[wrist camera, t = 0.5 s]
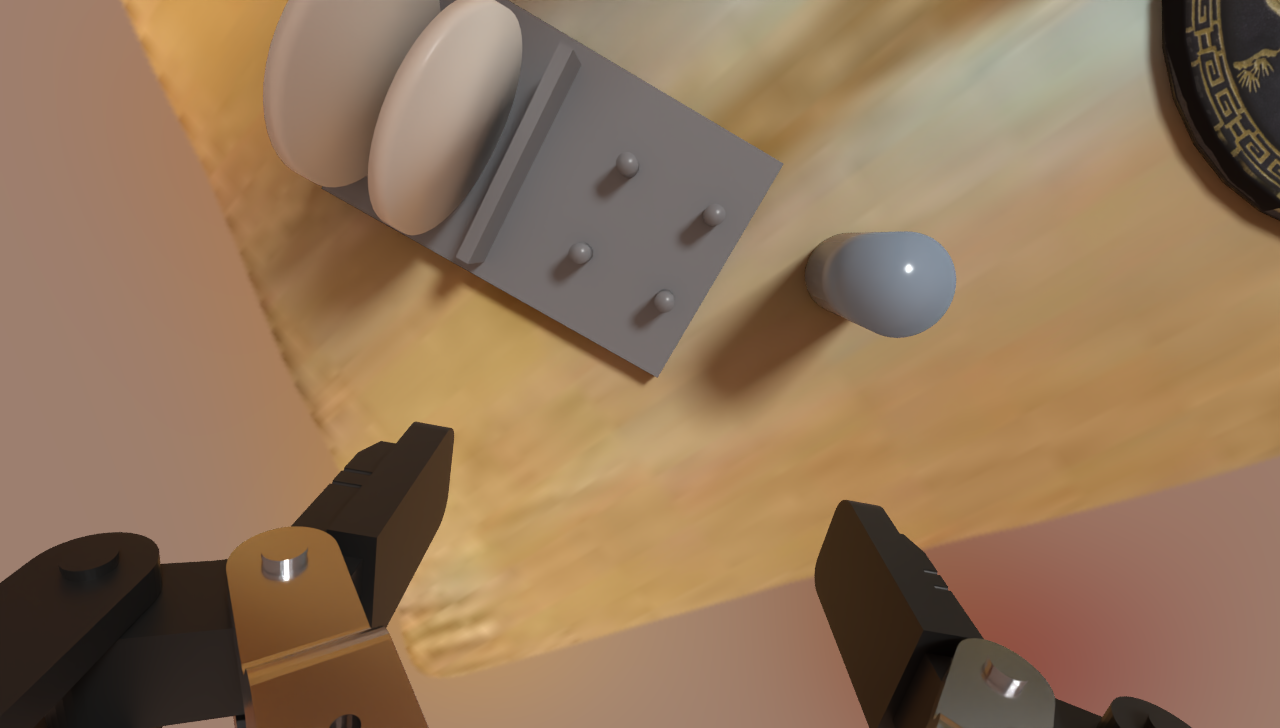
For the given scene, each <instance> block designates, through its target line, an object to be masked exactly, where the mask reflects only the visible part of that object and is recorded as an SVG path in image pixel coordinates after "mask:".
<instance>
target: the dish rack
mask: <svg viewBox="0 0 1280 728" xmlns="http://www.w3.org/2000/svg"><path fill="white" fill-rule="evenodd" d="M263 105H264V117H265V122H266V127H267V132H268V135H269V138H270V141H271V143H272V146H273V148H274V149H275V151H276V153H277V155H278V156H279V158H280V159H281V160H282V161H283V163H284V164H285V165H286V166H288V167H289V168H290V169H291V170H292V171H294V172H296V173H298V174H299V175H301V176H303V177H305V178H307V179H308V180H310V181H312V182H314V183H316V184H318V185H321V186H322V189H323V190H325V191H327V192H329V193H331V194H332V195H334V196H336V197H338V198H339V199H341V200H343V201H345V202H347V203H348V204H350V205H352V206H354V207H355V208H357V209H359V210H361V211H363V212H364V213H366V214H368V215H370V216H371V217H373V218H375V219H377V220H378V221H380V222H382V223H384V224H386V225H387V226H389V227H391V228H393V229H394V230H396V231H398V232H400V233H402V234H403V235H405V236H407V237H409V238H410V239H412V240H414V241H416V242H418V243H419V244H421V245H423V246H425V247H426V248H428V249H430V250H432V251H434V252H435V253H437V254H439V255H441V256H442V257H444V258H446V259H448V260H449V261H451V262H453V263H455V264H457V265H458V266H460V267H462V268H464V269H465V270H467V271H469V272H471V273H473V274H474V275H476V276H478V277H480V278H481V279H483V280H485V281H487V282H489V283H490V284H492V285H494V286H496V287H497V288H499V289H501V290H503V291H505V292H506V293H508V294H510V295H512V296H513V297H515V298H517V299H519V300H520V301H522V302H524V303H526V304H528V305H529V306H531V307H533V308H535V309H536V310H538V311H540V312H542V313H544V314H545V315H547V316H549V317H551V318H552V319H554V320H556V321H558V322H560V323H561V324H563V325H565V326H567V327H568V328H570V329H572V330H574V331H576V332H577V333H579V334H581V335H583V336H584V337H586V338H588V339H590V340H591V341H593V342H595V343H597V344H599V345H600V346H602V347H604V348H606V349H607V350H609V351H611V352H613V353H615V354H616V355H618V356H620V357H622V358H623V359H625V360H627V361H629V362H631V363H632V364H634V365H636V366H638V367H639V368H641V369H643V370H645V371H647V372H648V373H650V374H652V375H654V376H655V377H657V378H658V376H659V374H660V373H661V371H662V369H663V367H664V366H665V364H666V362H667V361H668V359H669V357H670V356H671V354H672V352H673V350H674V349H675V347H676V345H677V344H678V342H679V340H680V339H681V337H682V335H683V334H684V332H685V330H686V328H687V327H688V325H689V323H690V322H691V320H692V318H693V317H694V315H695V313H696V311H697V310H698V308H699V306H700V305H701V303H702V301H703V300H704V298H705V296H706V295H707V293H708V291H709V289H710V288H711V286H712V284H713V283H714V281H715V279H716V278H717V276H718V274H719V272H720V271H721V269H722V267H723V266H724V264H725V262H726V261H727V259H728V257H729V256H730V254H731V252H732V250H733V249H734V247H735V245H736V244H737V242H738V240H739V239H740V237H741V235H742V233H743V232H744V230H745V228H746V227H747V225H748V223H749V222H750V220H751V218H752V217H753V215H754V213H755V211H756V210H757V208H758V206H759V205H760V203H761V201H762V200H763V198H764V196H765V194H766V193H767V191H768V189H769V188H770V186H771V184H772V183H773V181H774V179H775V178H776V176H777V174H778V172H779V171H780V169H781V167H782V166H783V163H781V162H780V161H778V160H776V159H775V158H773V157H771V156H770V155H768V154H766V153H764V152H763V151H761V150H759V149H758V148H756V147H754V146H753V145H751V144H749V143H748V142H746V141H744V140H743V139H741V138H739V137H738V136H736V135H734V134H732V133H731V132H729V131H727V130H726V129H724V128H722V127H721V126H719V125H717V124H716V123H714V122H712V121H711V120H709V119H707V118H706V117H704V116H702V115H701V114H699V113H697V112H695V111H694V110H692V109H690V108H689V107H687V106H685V105H684V104H682V103H680V102H679V101H677V100H675V99H674V98H672V97H670V96H669V95H667V94H665V93H663V92H662V91H660V90H658V89H657V88H655V87H653V86H652V85H650V84H648V83H647V82H645V81H643V80H642V79H640V78H638V77H637V76H635V75H633V74H631V73H630V72H628V71H626V70H625V69H623V68H621V67H620V66H618V65H616V64H615V63H613V62H611V61H610V60H608V59H606V58H605V57H603V56H601V55H600V54H598V53H596V52H594V51H593V50H591V49H589V48H588V47H586V46H584V45H583V44H581V43H579V42H578V41H576V40H574V39H573V38H571V37H569V36H568V35H566V34H564V33H562V32H561V31H559V30H557V29H556V28H554V27H552V26H551V25H549V24H547V23H546V22H544V21H542V20H541V19H539V18H537V17H536V16H534V15H532V14H531V13H529V12H527V11H525V10H524V9H522V8H520V7H519V6H517V5H515V4H514V3H512V2H510V1H509V0H289V1H288V2H287V4H286V6H285V8H284V10H283V13H282V15H281V17H280V20H279V22H278V24H277V27H276V30H275V33H274V36H273V39H272V42H271V45H270V49H269V54H268V58H267V62H266V69H265V76H264V88H263Z"/></svg>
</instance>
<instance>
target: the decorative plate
mask: <svg viewBox="0 0 1280 728" xmlns="http://www.w3.org/2000/svg"><path fill="white" fill-rule="evenodd" d="M1162 48H1163V53H1164V57H1165V62H1166V67H1167V72H1168V76H1169V81H1170V86H1171V90H1172V95H1173V99H1174V102H1175V104H1176V106H1177V108H1178V110H1179V113H1180V115H1181V117H1182V119H1183V121H1184V124H1185V126H1186V128H1187V130H1188V132H1189V135H1190V137H1191V139H1192V141H1193V143H1194V145H1195V146H1196V148H1197V149H1198V150H1199V152H1200V153H1201V154H1202V155H1203V157H1204V158H1205V159H1206V161H1207V162H1208V163H1209V164H1210V166H1211V167H1212V168H1213V170H1214V171H1215V172H1216V174H1217V175H1218V176H1219V177H1220V179H1221V180H1222V181H1223V182H1224V183H1225V184H1226V185H1227V186H1229V187H1230V188H1231V189H1232V190H1234V191H1235V192H1236V193H1237V194H1239V195H1240V196H1241V197H1242V198H1244V199H1245V200H1246V201H1247V202H1249V203H1250V204H1251V205H1252V206H1254V207H1255V208H1256V209H1257V210H1259V211H1260V212H1262V213H1265V214H1267V215H1269V216H1271V217H1273V218H1275V219H1277V220H1280V0H1162Z"/></svg>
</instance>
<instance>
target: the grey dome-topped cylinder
mask: <svg viewBox="0 0 1280 728" xmlns="http://www.w3.org/2000/svg"><path fill="white" fill-rule="evenodd" d="M805 282H806V286H807V290H808V292H809V294H810V296H811V297H812V299H813V300H814V301H815V302H816V303H817V304H818V305H819V306H821V307H822V308H824V309H826V310H828V311H830V312H832V313H834V314H837V315H839V316H841V317H843V318H845V319H847V320H849V321H851V322H854V323H856V324H858V325H860V326H862V327H864V328H866V329H868V330H871V331H873V332H875V333H877V334H880V335H883V336H887V337H894V338H900V337H908V336H913V335H916V334H919V333H921V332H923V331H925V330H927V329H928V328H930V327H931V326H933V325H934V324H935V323H937V322H938V321H939V320H940V319H941V318H942V316H943V315H944V314H945V312H946V311H947V309H948V308H949V306H950V304H951V302H952V299H953V296H954V293H955V288H956V273H955V268H954V264H953V262H952V259H951V257H950V256H949V254H948V252H947V251H946V250H945V249H944V247H943V246H942V245H941V244H939V243H938V242H937V241H935V240H934V239H933V238H931V237H929V236H927V235H924V234H921V233H916V232H870V233H842V234H837V235H834V236H832V237H830V238H828V239H826V240H824V241H823V242H822V243H820V244H819V245H818V246H817V247H816V248H815V249H814V251H813V252H812V254H811V255H810V257H809V259H808V262H807V265H806V270H805Z"/></svg>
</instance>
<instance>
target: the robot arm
mask: <svg viewBox="0 0 1280 728" xmlns="http://www.w3.org/2000/svg"><path fill="white" fill-rule="evenodd" d="M453 443H454V431H453V429H452V428H448V427H442V426H437V425H431V424H425V423H420V422H414V423H413V424H412V425H411V426H410V427H409V428H408V430H407V431H406V432H405V433H404V435H403V436H402V437H401V438H400V439H399V441H398V442H397V443H396V444H395V443H389V442H383V441H380V442H378V443H376V444H374V445H372V446H370V447H368V448H366V449H364V450H362V451H360V452H358V453H357V454H356V455H355V457H354V458H353V459H352V460H351V461H350V462H349V463H348V464H347V465H346V466H345V468H344V471H341V472H340V473H339V474H338V475H337V476H336V477H335V479H334V480H333V482H332V484H329V485H328V486H327V487H326V488H325V489H324V491H323V492H322V493H321V494H320V495H319V496H318V497H317V498H316V499H315V500H314V502H313V503H312V504H311V505H310V506H309V507H308V508H307V509H306V510H305V512H304V513H303V514H302V515H301V516H300V517H299V518H298V519H297V520H296V521H295V523H294V524H293V525H292V526H291V527H283V528H277V529H273V530H269V531H266V532H263V533H260V534H258V535H255V536H254V537H251V538H250V539H248V540H246V541H244V542H243V543H242V544H240V545H239V546H238V547H237V548H236V549H235V550H234V551H233V552H232V553H231V555H230V556H229V558H228V559H225V560H217V561H203V562H187V563H169V564H160V556H159V549H158V547H157V545H156V544H155V543H154V542H153V541H152V540H151V539H149V538H147V537H145V536H142V535H138V534H133V533H122V532H115V533H102V534H96V535H89V536H85V537H81V538H77V539H74V540H70V541H68V542H65V543H62V544H60V545H57V546H55V547H52V548H50V549H48V550H47V551H45V552H43V553H41V554H39V555H38V556H36V557H35V558H33V559H32V560H30V561H29V562H28V563H26V564H25V565H24V566H22V567H21V568H20V569H18V570H17V571H16V572H14V573H13V574H12V575H10V576H9V577H8V578H6V579H5V580H4V581H2V582H1V583H0V728H162V727H163V726H166V725H173V724H180V723H187V722H194V721H201V720H208V719H214V718H222V717H229V716H233V718H234V725H235V728H429V727H428V725H427V722H426V720H425V718H424V715H423V713H422V710H421V708H420V706H419V704H418V701H417V699H416V696H415V694H414V691H413V689H412V686H411V684H410V682H409V679H408V677H407V674H406V672H405V670H404V667H403V665H402V662H401V660H400V658H399V655H398V653H397V650H396V648H395V646H394V643H393V641H392V638H391V636H390V634H389V632H388V631H387V629H386V627H387V625H388V623H389V621H390V619H391V617H392V616H393V614H394V612H395V610H396V608H397V606H398V604H399V602H400V600H401V599H402V597H403V595H404V593H405V591H406V589H407V587H408V585H409V583H410V581H411V580H412V578H413V576H414V574H415V572H416V570H417V568H418V566H419V564H420V562H421V560H422V559H423V557H424V555H425V553H426V551H427V549H428V547H429V545H430V543H431V541H432V540H433V538H434V536H435V534H436V532H437V530H438V528H439V526H440V524H441V521H442V518H443V515H444V512H445V508H446V504H447V499H448V491H449V482H450V472H451V462H452V453H453ZM815 587H816V591H817V594H818V597H819V599H820V602H821V604H822V607H823V609H824V612H825V614H826V617H827V620H828V622H829V625H830V628H831V630H832V633H833V635H834V638H835V640H836V643H837V646H838V648H839V651H840V653H841V655H842V658H843V661H844V664H845V666H846V669H847V671H848V674H849V677H850V679H851V682H852V684H853V687H854V689H855V692H856V695H857V697H858V700H859V702H860V704H861V707H862V710H863V713H864V715H865V718H866V720H867V723H868V725H869V728H1191V727H1190V726H1189V725H1187V724H1186V723H1185V722H1183V721H1182V720H1180V719H1179V718H1177V717H1176V716H1174V715H1172V714H1171V713H1169V712H1167V711H1166V710H1164V709H1162V708H1160V707H1158V706H1156V705H1154V704H1151V703H1149V702H1147V701H1144V700H1141V699H1137V698H1133V697H1127V696H1126V697H1118V698H1116V699H1115V700H1113V702H1112V703H1111V704H1110V706H1109V708H1108V709H1107V711H1106V712H1105V714H1104V716H1103V717H1101V716H1098V715H1096V714H1093V713H1091V712H1088V711H1086V710H1083V709H1081V708H1078V707H1076V706H1073V705H1071V704H1068V703H1066V702H1063V701H1061V700H1058V699H1056V698H1055V696H1054V693H1053V691H1052V689H1051V687H1050V685H1049V684H1048V682H1047V681H1046V679H1045V678H1044V677H1043V676H1042V675H1041V674H1040V672H1039V671H1037V670H1036V669H1035V668H1034V667H1033V666H1032V665H1031V664H1030V663H1028V662H1027V661H1026V660H1025V659H1023V658H1022V657H1021V656H1019V655H1018V654H1016V653H1014V652H1013V651H1011V650H1009V649H1007V648H1006V647H1004V646H1002V645H999V644H997V643H994V642H991V641H988V640H984V639H983V637H982V636H981V634H980V633H979V631H978V630H977V628H976V627H975V626H974V624H973V623H972V621H971V620H970V618H969V617H968V615H967V614H966V612H965V611H964V609H963V608H962V607H961V605H960V604H959V602H958V601H957V599H956V598H955V596H954V595H953V593H952V592H951V591H948V586H947V585H946V583H945V582H944V580H943V579H942V577H941V576H940V575H937V570H936V569H935V567H934V566H933V564H932V563H931V561H930V560H929V559H928V557H927V556H926V554H925V553H924V552H923V551H922V550H921V549H920V548H919V547H917V546H916V545H915V544H914V543H913V542H912V541H911V540H909V539H908V538H907V537H906V536H905V535H904V534H900V533H899V532H898V530H897V529H896V527H895V526H894V524H893V523H892V521H891V520H890V518H889V517H888V515H887V514H886V512H885V511H884V509H883V508H882V507H880V506H877V505H871V504H866V503H860V502H855V501H849V500H843V501H841V502H840V503H839V504H838V506H837V508H836V510H835V513H834V516H833V518H832V521H831V524H830V526H829V529H828V532H827V534H826V537H825V540H824V542H823V545H822V548H821V550H820V553H819V556H818V559H817V562H816V567H815Z"/></svg>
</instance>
